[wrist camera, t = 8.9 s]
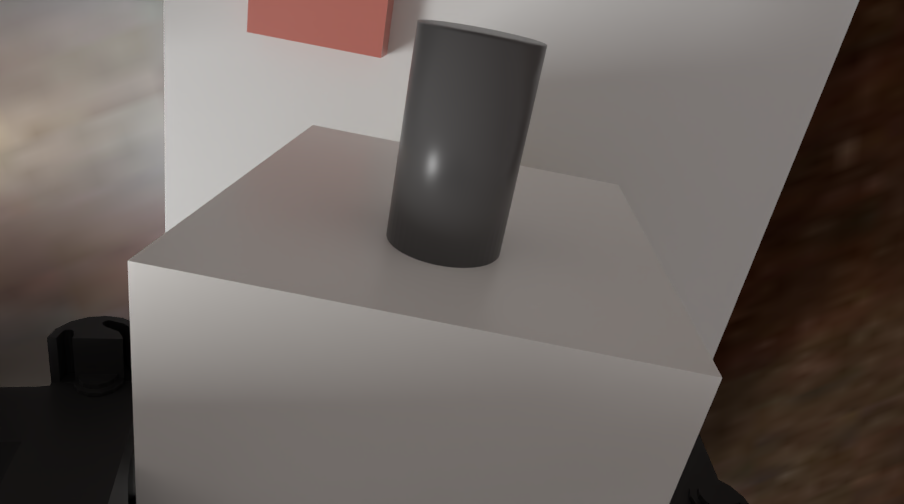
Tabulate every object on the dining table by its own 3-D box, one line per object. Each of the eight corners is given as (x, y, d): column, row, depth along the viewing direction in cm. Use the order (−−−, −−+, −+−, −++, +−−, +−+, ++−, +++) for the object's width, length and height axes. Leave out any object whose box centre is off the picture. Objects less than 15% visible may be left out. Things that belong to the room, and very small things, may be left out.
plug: (527, 381, 20) (547, 794, 10) (328, 342, 20) (143, 711, 10) (623, 30, 16) (830, 120, 6) (369, -19, 16) (118, -18, 6)
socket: (608, 486, 25) (629, 592, 21) (216, 408, 25) (155, 498, 21) (809, -65, 17) (912, -81, 13) (235, -176, 17) (142, -230, 13)
